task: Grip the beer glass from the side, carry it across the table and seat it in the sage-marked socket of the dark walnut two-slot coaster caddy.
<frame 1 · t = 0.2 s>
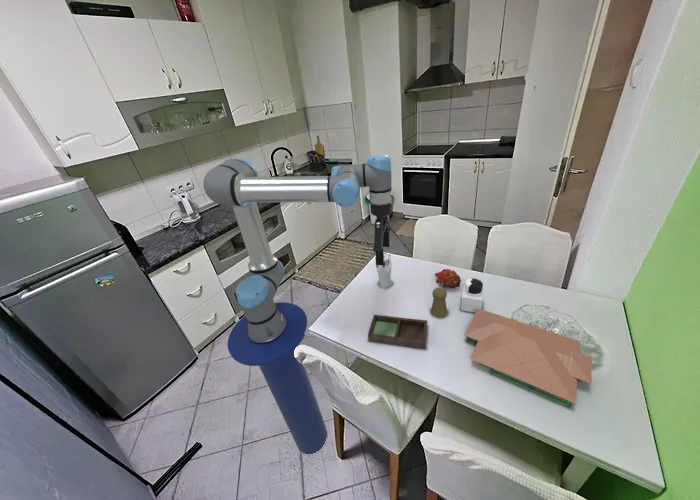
hand: (383, 255, 105), 23 cm above the table, tool pointing down, fingers open, 13 cm apart
salt shaker: (438, 312, 108), on the table
house: (520, 356, 88), on the table
medicine bottle: (471, 306, 108), on the table
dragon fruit: (447, 285, 121), on the table
caddy: (398, 333, 102), on the table
beer glass: (385, 284, 128), on the table
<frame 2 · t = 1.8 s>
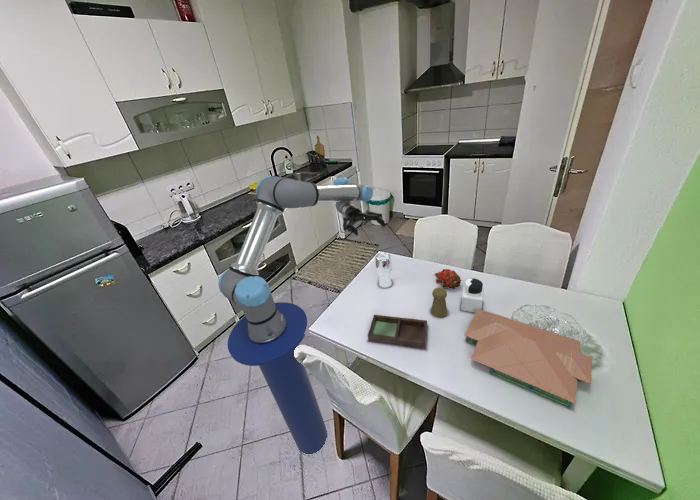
hand: (370, 228, 123), 25 cm above the table, tool horizontal, fingers open, 13 cm apart
nothing on the table moved.
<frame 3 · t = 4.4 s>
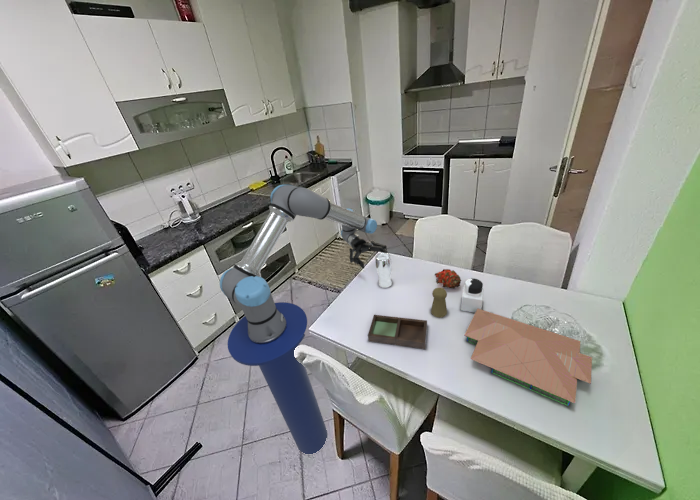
hand: (376, 261, 130), 8 cm above the table, tool horizontal, fingers open, 13 cm apart
nothing on the table moved.
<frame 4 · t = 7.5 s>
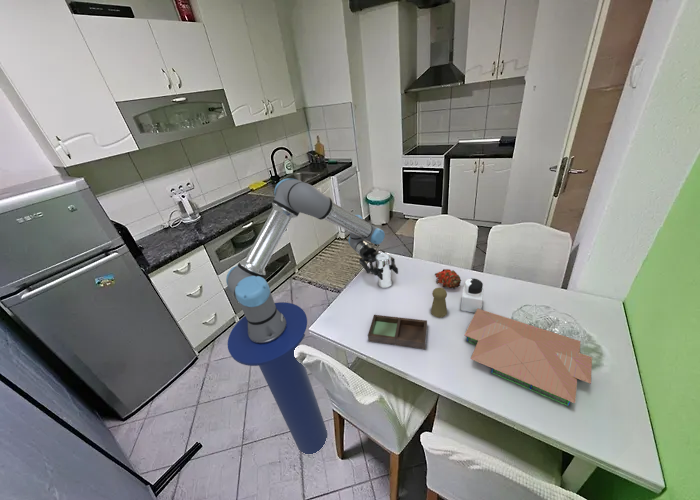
hand: (389, 274, 119), 8 cm above the table, tool horizontal, fingers closed on beer glass, 7 cm apart
beer glass: (385, 284, 128), on the table, touching gripper
everything else where it was.
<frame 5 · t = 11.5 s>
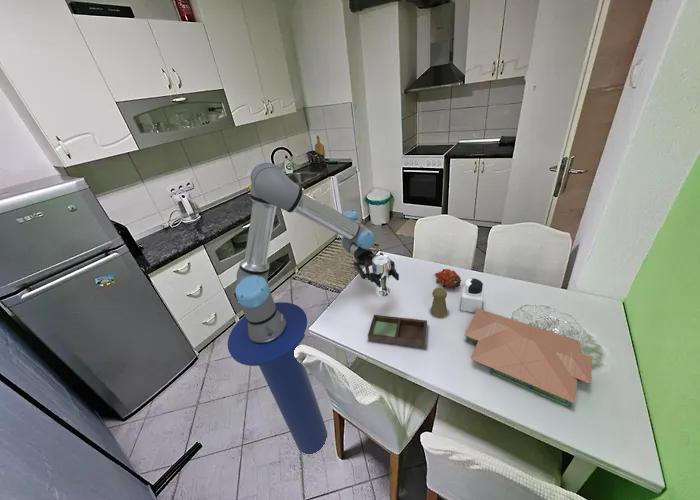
hand: (388, 280, 101), 18 cm above the table, tool horizontal, fingers closed on beer glass, 7 cm apart
beer glass: (383, 291, 109), point 9 cm above the table, touching gripper
everything else where it was.
when the fingers open (9 cm above the table, at t = 15.8 s): beer glass stays where it is, resting on caddy.
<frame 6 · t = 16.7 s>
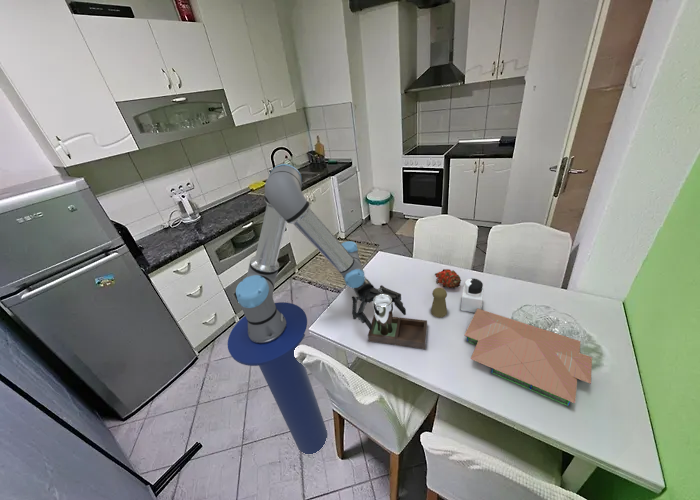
hand: (388, 319, 96), 9 cm above the table, tool horizontal, fingers open, 13 cm apart
beer glass: (385, 330, 103), point 1 cm above the table, touching caddy
everything else where it was.
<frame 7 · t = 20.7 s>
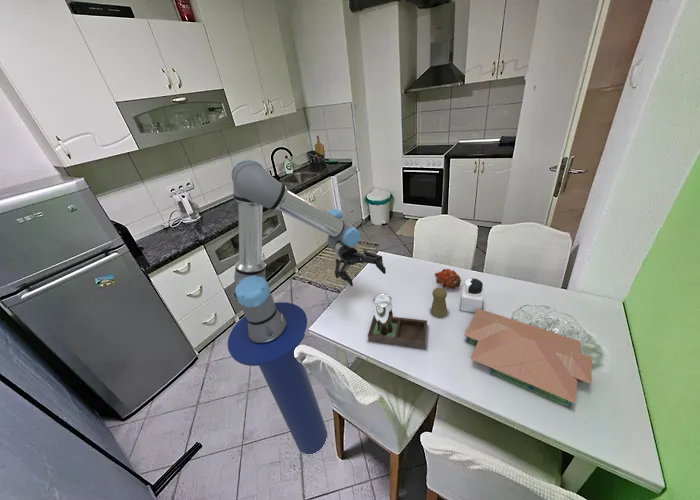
hand: (368, 276, 101), 20 cm above the table, tool horizontal, fingers open, 13 cm apart
nothing on the table moved.
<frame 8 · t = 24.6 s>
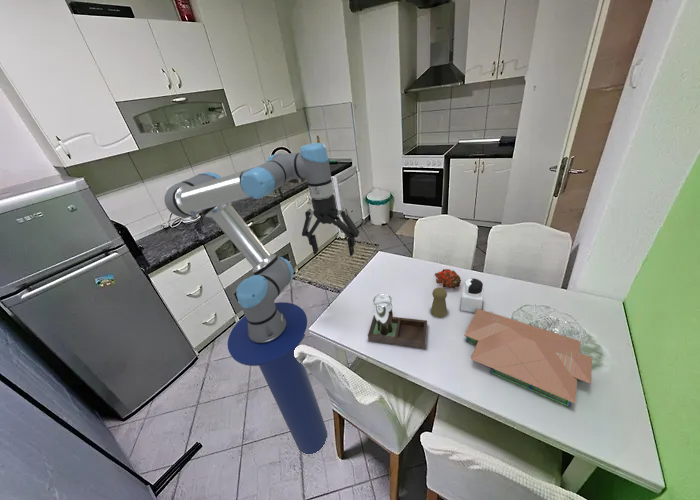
hand: (333, 253, 97), 31 cm above the table, tool pointing down, fingers open, 13 cm apart
nothing on the table moved.
at the end: beer glass 0.0 cm from the target spot in the caddy, point 0.6 cm above the caddy's base; beer glass tilted 0°; the gripper is holding nothing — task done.
